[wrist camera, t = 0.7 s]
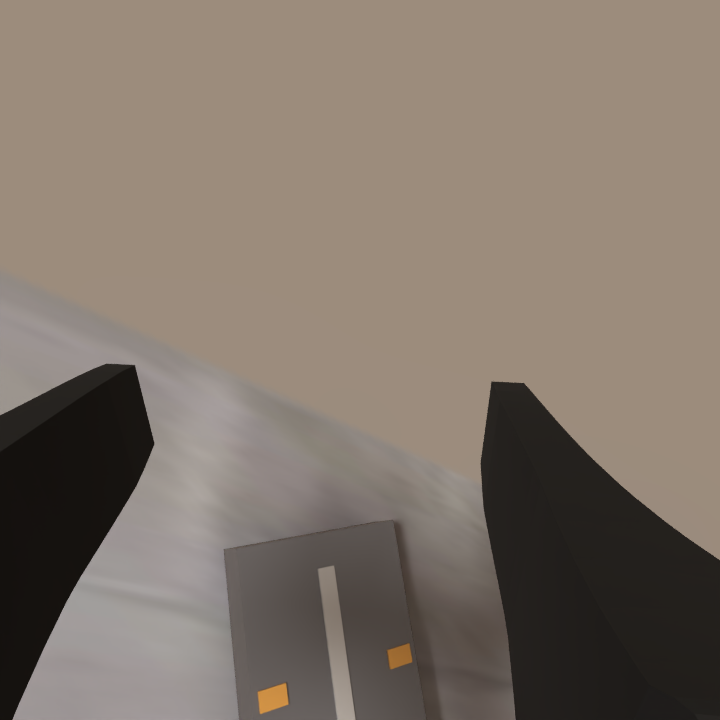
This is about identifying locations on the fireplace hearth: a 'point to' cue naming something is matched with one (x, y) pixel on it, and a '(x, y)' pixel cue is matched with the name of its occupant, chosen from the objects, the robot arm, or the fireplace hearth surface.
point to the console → (323, 628)
